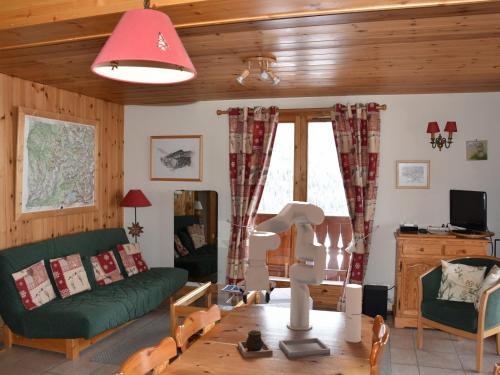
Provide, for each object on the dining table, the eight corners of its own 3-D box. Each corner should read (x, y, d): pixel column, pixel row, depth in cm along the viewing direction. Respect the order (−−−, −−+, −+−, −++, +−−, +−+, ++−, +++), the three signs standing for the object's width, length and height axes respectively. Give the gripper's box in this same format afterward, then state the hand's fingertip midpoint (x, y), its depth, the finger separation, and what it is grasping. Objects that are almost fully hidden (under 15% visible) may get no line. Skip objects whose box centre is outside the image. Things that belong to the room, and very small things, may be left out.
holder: (237, 346, 198) (237, 341, 198) (263, 344, 201) (264, 339, 201) (244, 357, 185) (244, 352, 185) (272, 355, 188) (272, 350, 188)
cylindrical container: (361, 343, 204) (362, 288, 204) (344, 341, 206) (346, 287, 205) (360, 337, 211) (361, 284, 211) (344, 336, 213) (345, 283, 212)
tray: (279, 346, 199) (279, 340, 199) (317, 343, 203) (317, 337, 203) (289, 358, 185) (289, 352, 185) (330, 355, 190) (330, 349, 189)
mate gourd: (254, 346, 198) (254, 323, 198) (266, 351, 193) (267, 328, 193) (242, 350, 193) (243, 327, 193) (254, 355, 188) (255, 331, 187)
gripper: (239, 265, 186) (238, 306, 187) (279, 264, 191) (278, 304, 191) (235, 262, 194) (234, 301, 194) (273, 261, 198) (272, 299, 198)
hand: (256, 303), depth 192 cm, fingers open, 9 cm apart
